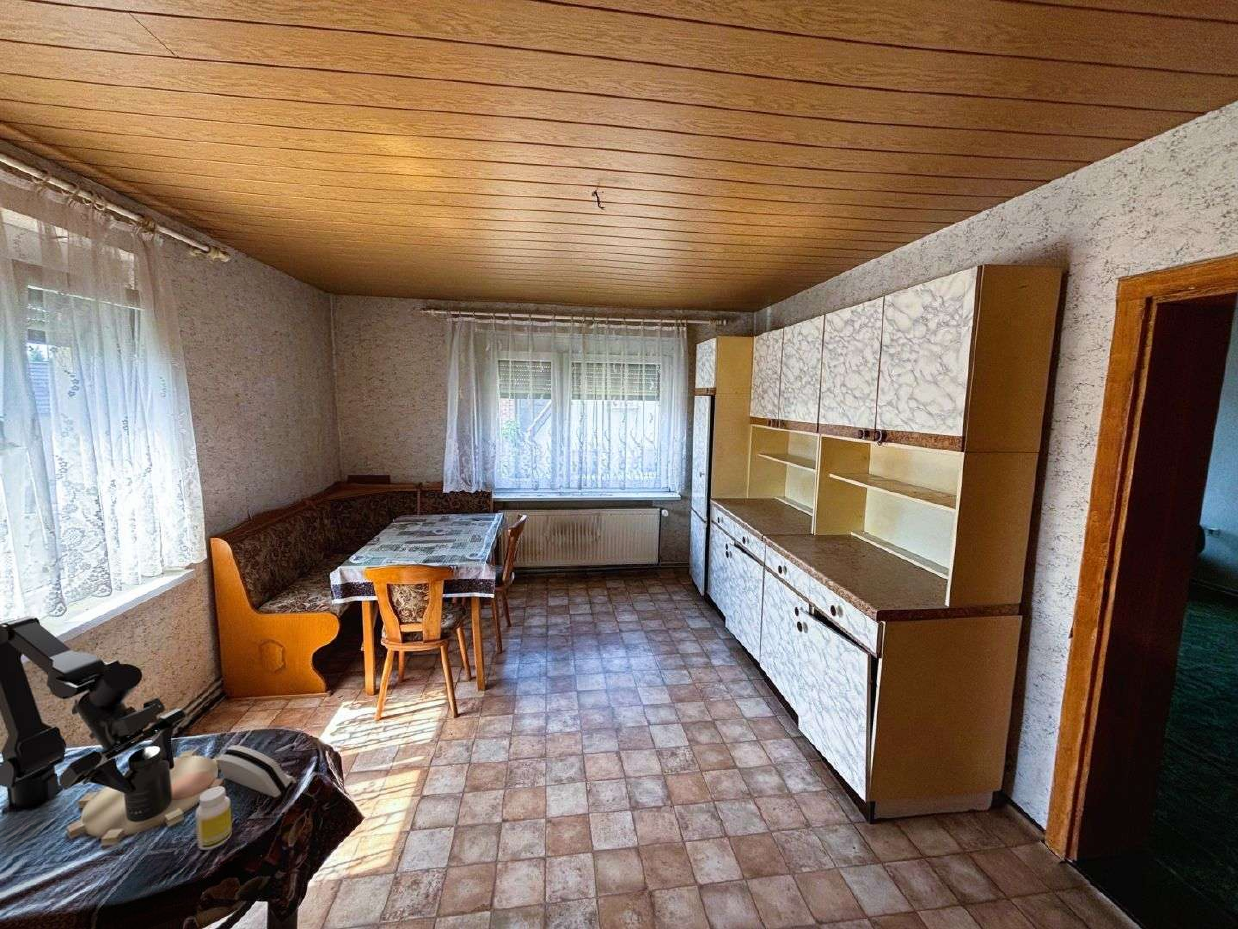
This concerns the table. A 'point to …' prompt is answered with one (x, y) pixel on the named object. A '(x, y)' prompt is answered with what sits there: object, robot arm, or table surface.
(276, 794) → the white arched block
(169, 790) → the supplement bottle
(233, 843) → the table surface
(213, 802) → the supplement bottle
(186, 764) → the sprocket wheel
